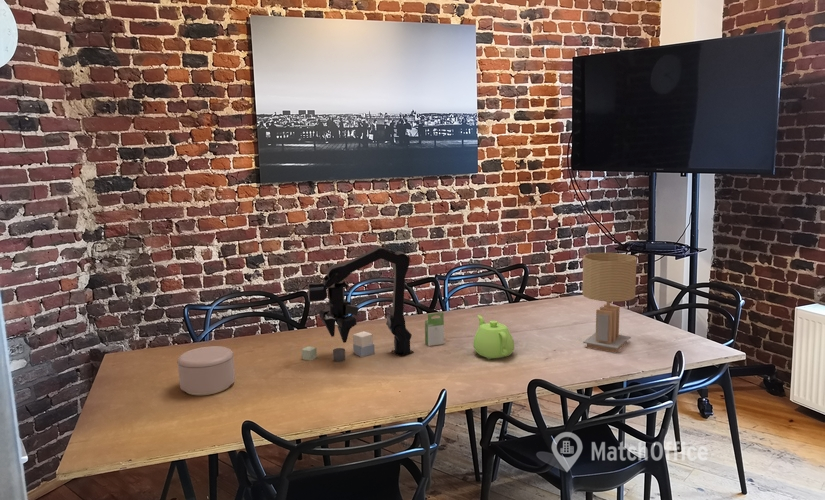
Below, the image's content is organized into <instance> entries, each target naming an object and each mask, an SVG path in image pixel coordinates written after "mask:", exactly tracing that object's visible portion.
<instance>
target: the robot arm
mask: <svg viewBox="0 0 825 500" xmlns="http://www.w3.org/2000/svg"><path fill="white" fill-rule="evenodd" d="M381 259H382V260H384V261H387V262H389V263H391V268H392V272H393V289H392V290H393V291H392V308H391V312H390V314H386V319H387V321H386V323H385V324H386V327H387V328H388V330H389V331H390V333H391V334H392V335H393V338H394V340H393V343H394V345H393V346H394V347H393V350H391V353H393V354H394V355H397V356H399V357H402V356H406V355H410V354H414V350H411V339H412V333H411V332H410V331H409V330H408V329H407V327H406V320H405V319H406V318H405V316H404V305H405V303H404V301H405V300H404V299H405V285H406V275H407V273H408V271H409V266H410V263H411V259H410V257H409V256H408V255H407V254H406V253H404V252H403V251H399V250H398V251H393V250H390V249H386V248H384V247H382V246H376V247H375V248H374V249H372V250H370V251H367V252H365V253H363V254H361V255H359V256H356V257H355V258H353V259H350V260H349V261H345V262H340V263H336V264H332V265H330V266H329V267H328V268H327V269H326V270H327V271H326V275H325V276H324V278H323V279H322V281H321V282H315V283H313V282H309V283H308V285H307V286H308V287H307V288H308V290H307V296H308V302H309V303H311V302H322V301H324V302H325V300H327V298H328V301H326V305H327V306H329V307H328V308H325V309H321V310H320V311H319V312H318V313H319V314H318V316H319V319H320V320H321V321H322V323H323V324H324V326H325V327H326V329H327V331H328V333H329V335H330V336H331V338H334V337H335V333H336V322H337V329H338V333H339V336H340V338H341V340H342V343H347V340H348V338H349V333H350V331H351V329H352V328H353V327H355V326H357V324H358V321H357V318H355V316H358V313H359V311H360V310H359V309H360V307H358V306H357V305H353V304H351V302H350V301H347V300H345V294H344V293H345V290H344V289H346V288H349V287H350V285H349V284H348V283H347V282H346V281H345V279H347V278H348V277H349V276H350V275H351V274H352V273H354V272H355V271H357V270H359V269H361V268H365V267H366V266H368V265H370V264H372V263H374V262H376V261H379V260H381ZM351 315H352V316H351ZM353 315H354V316H353Z"/></svg>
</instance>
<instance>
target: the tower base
mask: <svg viewBox="0 0 825 500" xmlns="http://www.w3.org/2000/svg"><path fill="white" fill-rule="evenodd" d="M352 344H353V343H352ZM352 347H353V349H352V350H353V354H355V355H356V356H358V357H360V358H364V357H368V356H372V355H375V343H373V344H371V345H368V346H365V347H360V346H357V345H354V344H353V345H352Z"/></svg>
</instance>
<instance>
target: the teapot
mask: <svg viewBox="0 0 825 500" xmlns="http://www.w3.org/2000/svg"><path fill="white" fill-rule="evenodd" d="M477 317H478V321H479V323H478V325H479V326H478V329H477V331H476V332H475V335H474V339H473V342H472V343H473V348H474V350H475V352H476V353H477V354H478V355H480V356H482V357H484V358H486V359H487V360H493V359H498V358H506V357H509V356H510V355H511V354H512V353H514V350H515V343H514V338H513V336H512V334H511V332H510V329H509V328H508V326H506V325H505V324H504V323H500V322H499V321H497V320H490V321H489V322H487V323H485V319H484V318H483V316H482V315H480V314H477Z"/></svg>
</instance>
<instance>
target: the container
mask: <svg viewBox="0 0 825 500" xmlns="http://www.w3.org/2000/svg"><path fill="white" fill-rule="evenodd" d="M234 360H235V359H234V352H233V351H232V349H230V348H228V347H225V346H220V345H219V346H218V345H217V346H216V345H215V346H214V345H213V346H212V345H211V346H202V347H197V348H193V349H191V350H187V351H185V352H183V353H182V354H181V355H180V356H179V357H178V358H177V366H178V367H177V368H178V369H177V370H178V378H179V388H180V390H182V391H183V392H186V393H187V394H189V395H192V396H208V395H213V394H218V393H221V392H224V391H225V390H227V389H229V388H230V386H232V384H233V383H234V382H235V381H236V373H235V361H234Z"/></svg>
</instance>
